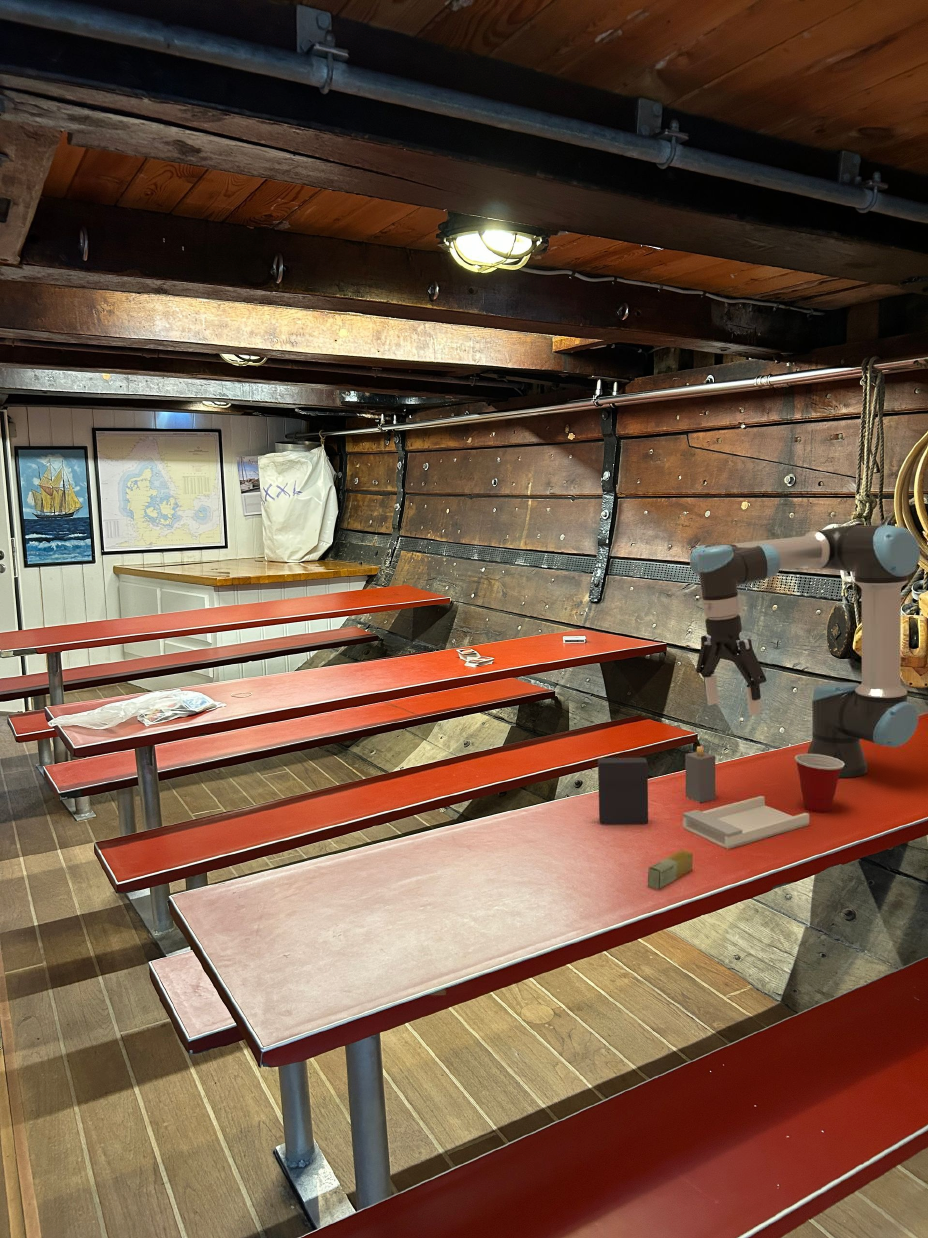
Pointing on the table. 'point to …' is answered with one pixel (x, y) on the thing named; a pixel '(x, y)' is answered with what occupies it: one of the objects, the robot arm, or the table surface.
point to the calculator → (623, 790)
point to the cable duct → (742, 822)
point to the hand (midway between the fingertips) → (733, 708)
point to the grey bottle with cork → (700, 775)
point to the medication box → (669, 869)
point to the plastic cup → (818, 780)
